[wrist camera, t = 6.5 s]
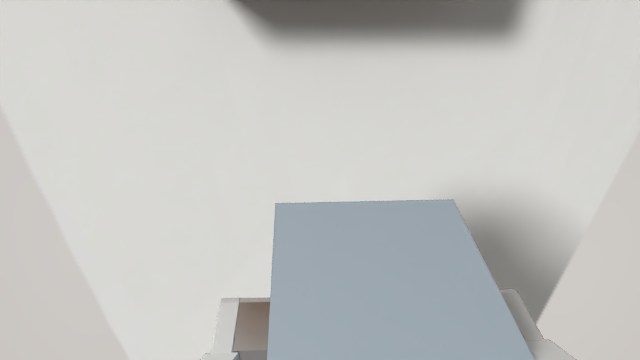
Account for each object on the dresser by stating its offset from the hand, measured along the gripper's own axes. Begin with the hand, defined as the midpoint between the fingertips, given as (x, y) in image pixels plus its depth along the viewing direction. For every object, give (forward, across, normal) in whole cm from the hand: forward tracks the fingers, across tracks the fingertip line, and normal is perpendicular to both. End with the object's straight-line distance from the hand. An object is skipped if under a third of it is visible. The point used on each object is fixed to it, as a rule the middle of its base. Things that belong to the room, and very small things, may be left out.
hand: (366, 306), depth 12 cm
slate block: (+2, 0, 0) cm, 2 cm away
